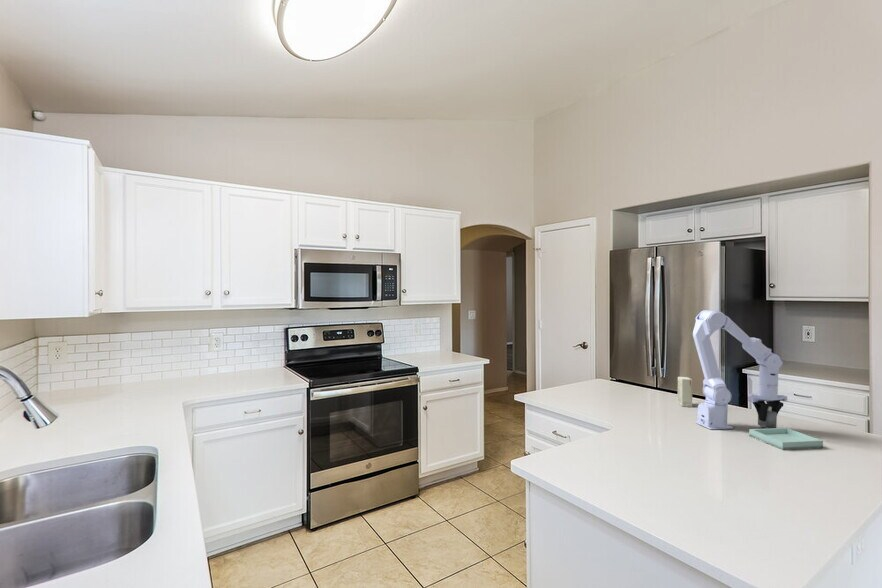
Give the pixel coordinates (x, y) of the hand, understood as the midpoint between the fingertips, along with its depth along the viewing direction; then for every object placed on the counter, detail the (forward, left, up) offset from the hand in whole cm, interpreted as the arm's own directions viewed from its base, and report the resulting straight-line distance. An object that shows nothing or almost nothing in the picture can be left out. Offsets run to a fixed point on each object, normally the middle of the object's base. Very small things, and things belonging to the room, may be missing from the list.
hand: (767, 420), depth 163 cm
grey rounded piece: (0, 0, -2) cm, 2 cm away
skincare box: (-9, +33, -3) cm, 34 cm away
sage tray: (-6, -13, -3) cm, 15 cm away
